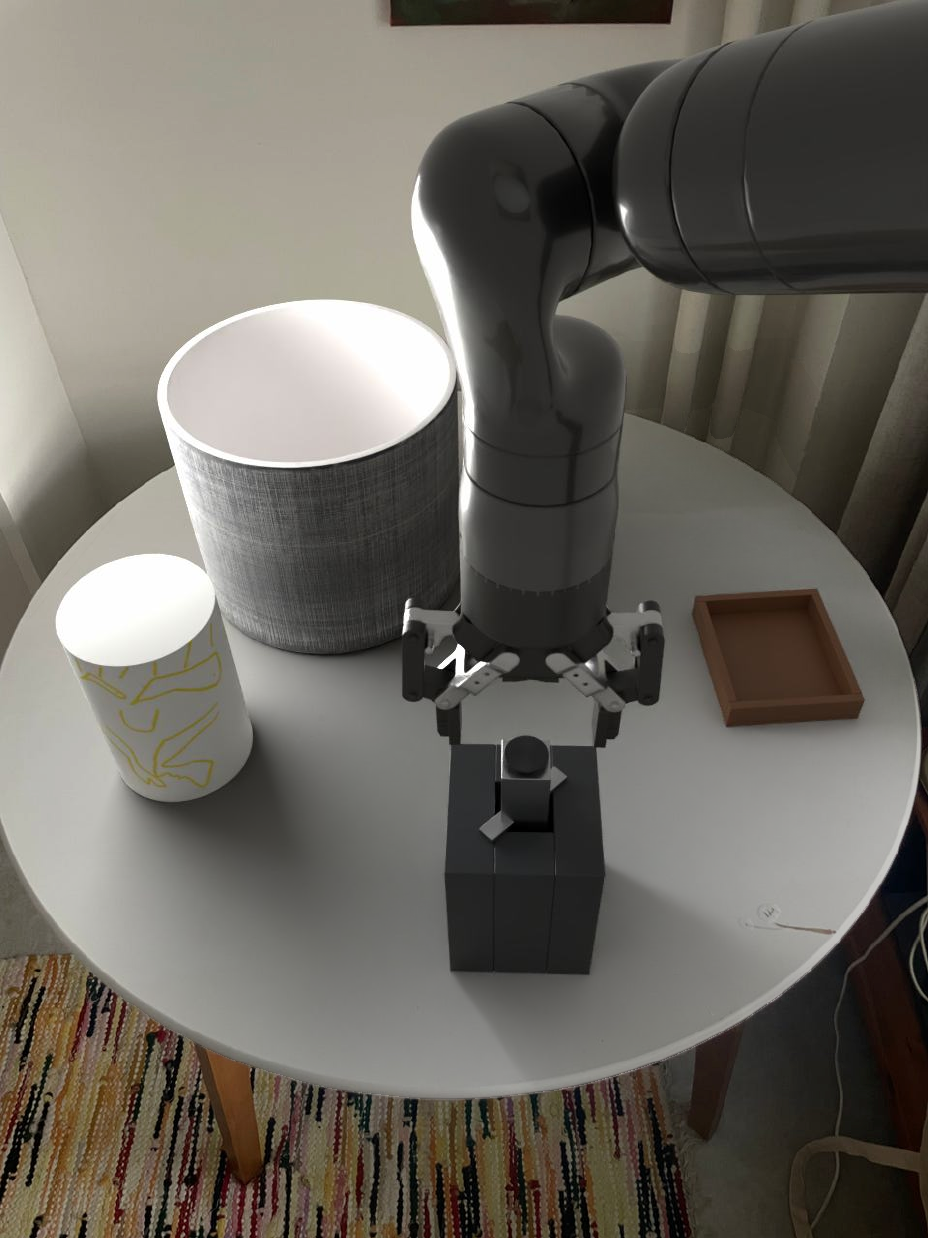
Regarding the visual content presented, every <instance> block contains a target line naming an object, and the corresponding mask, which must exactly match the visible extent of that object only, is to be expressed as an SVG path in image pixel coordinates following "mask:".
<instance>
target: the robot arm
mask: <svg viewBox="0 0 928 1238" xmlns="http://www.w3.org/2000/svg"><path fill="white" fill-rule="evenodd" d="M419 163H420V164H419V165H418V168H417V171H416V175H415V178H414V180H413V181H414V182H413V187H412V192H411V199H410V224H411V230H412V237H413V241H414V246H415V248H416V252H417V255H418V258H419V259H418V260H419V262H420V265H421V267H422V269H423V272H424V275H425V278H426V280H427V284H428V286H429V290H430V291H431V294H432V297H433V299H434V303H435V306H436V308H437V311H438V314H439V318H440V320H441V324H442V326H443V330H444V334H445V338H446V341H447V345H448V346H449V348H450V351H451V354H452V357H453V361H454V364H455V367H456V370H457V378H458V381H459V384H460V390H461V432H462V434H461V435H462V439H461V440H462V469H461V474H460V475H461V476H460V480H459V508H458V520H459V537H460V570H459V573H460V602H459V603H458V605H457V607H455V609H454V610H453V611H452V610H427V609H428V605H427V602H426V601H425V600H424V599H422V598H418V597H413V598H410V599H408V600H407V601H406V603H405V613H404V623H403V633H402V635H401V697H402V698H403V700H405V701H407V702H409V703H418V702H421V701H422V700H423V699H426V700H429V701H431V702H433V704H434V706H435V718H436V719H435V720H436V732H437V734H438V735H439V737H441V738H448V745H449V746H451V745H461V744H462V724H463V710H462V709H463V708H462V705H463V704H462V702H463V700H465V699H466V698H467V697H468V696H470V695H472V696H474V697H476V696H478V695H479V694H480V693H481V692H482V691H484V690H485V689H486V688H487V687H489V686H490V685H491V684H492V683H493V682H495V681H496V680H497V679H498V678H502V679H501V680H502V683H519V682H525V681H535V682H541V683H553V684H554V683H556V684H557V683H558V684H559V683H560V680H561V679H565V680H566V681H567V682H568V683H569V684H570V685H571V686H573V688H574V689H575V690H577V691H578V692H579V693H580V694H581V695H582V696H583V697H584V698H589V697H591V698H592V699H593V705H592V715H591V733H592V746H593V747H594V748H596V749H606V747H607V742H608V741H615V740H616V738H617V737H618V736H619V734H620V727H621V720H622V714H623V710H624V709H625V708H626V706H627V705H628V704H630V703H634V702H637V704H639V705H641V706H644V707H650V706H654V705H656V704H657V703H658V702H659V701H660V695H661V686H662V685H661V684H662V675H663V666H664V653H665V642H666V639H665V632H664V631H665V630H664V624H663V617H662V609H661V605H660V603H659V602H658V601H655V600H651V599H649V600H643V601H642V602H641V603H639V604H638V606H637V611H636V612H611V610H610V608H609V607H608V599H609V591H610V582H611V573H612V565H613V558H614V557H613V556H614V550H615V541H616V532H617V526H618V525H617V524H618V517H619V509H620V507H619V506H620V488H619V486H620V485H619V463H620V462H619V461H620V453H621V444H622V437H623V427H624V419H625V408H626V400H627V389H628V388H627V386H628V385H627V384H628V383H627V381H628V380H627V379H628V377H627V376H628V375H627V369H626V367H627V366H626V360H625V357H624V355H623V352H622V350H621V347H620V346H619V344H618V343H617V341H616V340H615V338H614V337H613V336H612V335H611V334H609V333H608V332H607V331H606V330H605V329H603V328H602V327H600V326H598V325H597V324H595V323H593V322H591V321H588V320H587V319H583V318H579V317H575V316H571V315H565V314H564V315H563V314H557V313H556V312H557V308H558V306H559V303H561V302H563V301H565V300H568V299H570V298H573V297H574V296H576V295H578V294H580V293H583V292H585V291H587V290H589V289H592V288H594V287H596V286H598V285H600V284H602V283H604V282H607V281H609V280H612V279H614V278H617V277H618V276H621V275H623V274H625V273H627V272H630V271H633V270H637V269H640V268H644V269H645V270H646V271H647V272H648V273H649V274H651V275H653V276H654V277H655V278H657V279H658V280H659V281H661V282H663V283H665V284H667V285H669V286H672V287H675V288H676V289H680V290H683V291H687V292H690V293H691V292H693V293H699V294H704V295H705V294H706V295H716V296H809V295H810V296H816V295H855V294H856V295H859V294H860V295H862V294H928V0H895V1H892V2H891V1H890V2H885V3H880V4H877V5H872V6H866V7H863V8H859V9H855V10H854V9H853V10H850V11H845V12H840V13H835V14H832V15H827V16H823V17H819V18H817V19H812V20H809V21H805V22H801V23H798V24H794V25H789V26H786V27H782V28H779V29H775V30H771V31H767V32H763V33H760V34H755V35H752V36H747V37H745V38H741V39H736V40H733V41H730V42H727V43H723V44H720V45H716V46H713V47H711V48H707V49H705V50H703V51H701V52H697V53H695V54H693V55H691V56H688V57H680V58H669V59H660V60H659V59H658V60H653V61H646V62H641V63H636V64H629V65H626V66H620V67H617V68H612V69H609V70H604V71H600V72H595V73H592V74H589V75H585V76H581V77H579V78H576V79H573V80H570V81H565V82H563V83H560V84H557V85H553V86H551V87H548V88H545V89H542V90H540V91H536V92H533V93H531V94H528V95H525V96H521V97H519V98H516V99H515V98H514V99H513V100H510V101H506V102H505V103H500V104H496V105H492V106H490V107H487V108H484V109H481V110H478V111H477V110H476V111H475V112H471V113H469V114H466V115H463V116H461V117H459V118H457V119H456V120H454V121H452V122H450V123H449V124H447V125H445V126H444V127H443V128H442V129H441V131H440V132H438V133H437V134H436V135H435V136H434V138H433V139H432V140H431V142H430V143H429V145H428V146H427V148H426V150H425V152H424V154H423V156H422V158H421V161H420V162H419ZM449 636H452V638H453V640H454V641H455V643H456V644H457V646H456V648H455V650H454V652H453V653H452V654H451V655H449V656H448V657H447V658H446V659H445V660H444V661H443V662H442V663H440V664H439V665H438V666H434V665H433V666H432V665H430V664H429V665H428V664H427V655H430V654H433V653H434V649H435V648H437V647H439V646H440V644H441V642H442V640H443V639H444V638H445V637H449ZM613 638H615V639H619V640H621V641H622V642H623V646H624V648H625V649H626V650H628V651H631V656H633V667H632V668H628V669H627V668H626V669H623V670H622V668H621V667H620V666H619V665H618V664H617V663H616V662H615V661H614V660H612V658H611V657H610V656H609V655H607V653H606V652H605V648H606V647H607V646H609V645H610V643H611V642H612V640H613Z"/></svg>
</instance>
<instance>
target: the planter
mask: <svg viewBox="0 0 928 1238" xmlns="http://www.w3.org/2000/svg"><path fill="white" fill-rule="evenodd" d="M458 392H459V390H458V373H457V370H456V367H455V364H454V361H453V357H452V354H451V351H450V348H449V345H448V342H446V340H445V339H444V338H443V337H442V336H441V335H440V334H439V333H438V332H437V331H436V330H435V329H433V328H432V327H431V326H429V325H428V324H426V323H425V322H423V321H422V320H420V319H418V318H416V317H414V316H412V315H409V314H407V313H405V312H402V311H400V310H397V309H394V308H390V307H387V306H384V305H380V304H375V303H369V302H364V301H363V302H362V301H356V300H346V299H306V300H305V299H304V300H296V301H289V302H283V303H277V304H272V305H271V304H270V305H266V306H263V307H259V308H255V309H251V310H248V311H245V312H242V313H239V314H236V315H233V316H231V317H229V318H227V319H225V320H223V321H219V322H218V323H216V324H214V325H211V326H210V327H208V328H206V329H205V330H203V331H201V332H200V333H198V334H197V335H195V337H193V338H191V339H190V340H189V341H187V342H186V343H185V344H184V345H183V346H182V347H181V348H180V349H179V350H178V351H177V352H175V354H174V355H173V356H172V358H171V359H170V360H169V362H168V363H167V364H166V366H165V368H164V370H163V371H162V373H161V377H160V379H159V382H158V386H157V404H158V409H159V412H160V416H161V420H162V424H163V427H164V430H165V434H166V437H167V441H168V444H169V448H170V451H171V455H172V458H173V461H174V465H175V469H176V472H177V476H178V479H179V484H180V486H181V490H182V493H183V497H184V500H185V503H186V507H187V510H188V514H189V517H190V522H191V525H192V527H193V531H194V535H195V538H196V542H197V545H198V547H199V552H200V554H201V557H202V560H203V563H204V564H203V565H204V567H205V573H206V574H207V575H208V577H209V578H210V580H211V582H212V584H213V587H214V590H215V594H216V598H217V601H218V605H219V609H220V612H221V614H222V615H223V616H224V618H226V619H227V621H229V623H230V624H232V625H233V626H234V627H235V628H237V629H238V630H239V631H241V632H242V633H243V634H244V635H247V636H248V637H250V638H252V639H254V640H256V641H257V642H260V643H263V644H264V645H268V646H270V647H274V648H276V649H281V650H284V651H290V652H295V653H303V654H315V655H329V654H343V653H351V652H355V651H356V652H357V651H361V650H365V649H369V648H372V647H373V648H374V647H376V646H379V645H383V644H385V643H388V642H391V641H393V640H396V639H398V638H400V637H402V633H403V623H404V613H405V603H406V601H407V600H408V599H410V598H413V597H418V598H422V599H424V600H425V601H426V602H427V605H428V609H427V610H437V611H439V609H440V608H441V607H442V605H443V604H444V603H445V602H446V600H447V599H448V598H449V596H450V594H451V593H452V592H453V589H454V587H455V585H456V583H457V580H458V578H459V573H460V537H459V520H458V508H459V488H460V451H459V449H460V448H459V444H460V443H459V395H458Z"/></svg>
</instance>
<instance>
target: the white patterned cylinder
mask: <svg viewBox="0 0 928 1238" xmlns="http://www.w3.org/2000/svg"><path fill="white" fill-rule="evenodd" d="M55 630H56V634H57V638H58V639H59V641H60V643H61V647H62V648H63V651H64V653H65V654H66V657H67V659H68V661H69V664H70V666H71V669H72V670H73V672H74V675H75V678H76V679H77V682H78V684H79V686H80V688H81V690H82V692H83V695H84V697H85V699H86V702H87V703H88V706H89V708H90V710H91V713H92V715H93V717H94V719H95V721H96V725H97V726H98V728H99V730H100V733H101V734H102V735H101V736H102V737H103V739H104V741H105V743H106V747H107V748H108V750H109V753H110V755H111V757H112V759H113V762H114V763H115V765H116V768H117V770H118V772H119V774H120V777H121V778H122V780H123V781H124V783H125V784H126V785H127V786H128V788H130V789H131V790H132V791H134V792H135V793H137V794H138V795H140V796H142V797H144V798H146V799H150V800H153V801H156V802H164V803H180V802H187V801H192V800H195V799H199V798H202V797H204V796H207V795H210V794H212V793H214V792H215V791H217V790H219V789H221V788H222V787H224V786H225V785H226V784H228V783H229V782H230V781H231V780H232V779H234V778H235V777H236V776H237V774H239V772H240V771H241V770H242V769H243V767H244V766H245V764H246V762H247V761H248V759H249V756H250V754H251V752H252V749H253V743H254V731H253V725H252V721H251V718H250V715H249V711H248V708H247V703H246V701H245V696H244V692H243V689H242V685H241V682H240V678H239V674H238V671H237V668H236V663H235V660H234V656H233V652H232V649H231V646H230V641H229V638H228V634H227V630H226V627H225V624H224V619H223V616H222V612H221V611H220V609H219V605H218V601H217V598H216V594H215V590H214V587H213V584H212V582H211V580H210V578H209V577H208V575H207V572H206V571H204V570H203V569H202V568H201V567H200V566H199V565H197V564H195V563H194V562H192V561H190V560H189V559H186V558H182V557H179V556H175V555H170V554H163V553H143V554H135V555H130V556H125V557H122V558H118V559H116V560H112V561H110V562H108V563H105V564H103V565H101V566H99V567H97V568H95V569H93V570H92V571H90V572H89V573H87V574H86V575H84V576H83V577H82V578H80V579H79V580H78V581H77V582H76V583H74V584H73V586H72V587H71V588H70V589H69V590H68V591H67V592H66V594H65V595H64V597H63V598H62V599H61V602H60V604H59V606H58V608H57V611H56V616H55Z"/></svg>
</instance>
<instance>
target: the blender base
mask: <svg viewBox="0 0 928 1238" xmlns="http://www.w3.org/2000/svg"><path fill="white" fill-rule="evenodd" d="M597 749H598V748H594V747H593V745H573V744H572V745H570V744H569V745H568V744H567V745H565V744H560V745H559V744H552V745H551V744H550V765H551V769H552V768H553V767H554V766H555V767H556V768H557V769H559V770H560V771H561V772H562V773H563V774H565V775H566V776H567V781H566V782H565V783H563V784H562V785H561V786H560V787H559V788H558V789H556V790H555V791H554V792H553V793H552V794H550V799H549V812H548V825H547V832H506V833H504V834H503V835H502V836H501V837H500V838H499V839H497V840H496V841H495V842H494V843H493V844H491V843H490V842H489V841H488V840H487V839H486V838H485V837H484V836H483V835H481V834H480V833H479V828H481V827H482V826H483V825H484V824H485V823H487V822H488V821H489V820H490V819H491V818H493V817H494V816H495V815H496V814H497V813H499V812H500V811H501V759H502V743H500V744H499V743H498V744H497V743H496V744H495V743H461V745H450V748H449V750H450V751H449V770H448V789H447V807H446V808H447V809H446V825H445V827H446V828H445V845H444V846H445V847H444V866H443V868H444V869H443V870H444V871H443V879H444V892H445V893H444V894H445V909H446V921H447V922H446V923H447V924H446V925H447V940H448V955H449V970H450V972H452V973H490V974H491V973H500V974H501V973H502V974H503V973H506V974H548V975H582V976H583V975H586V976H587V975H588V976H589V975H590V974H591V968H592V962H593V955H594V949H595V943H596V936H597V931H598V926H599V925H598V924H599V917H600V911H601V906H602V900H603V899H602V898H603V893H604V887H605V881H606V865H605V864H606V863H605V852H604V851H605V849H604V838H603V837H604V836H603V823H602V822H603V821H602V808H601V793H600V779H599V765H598V750H597Z"/></svg>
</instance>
